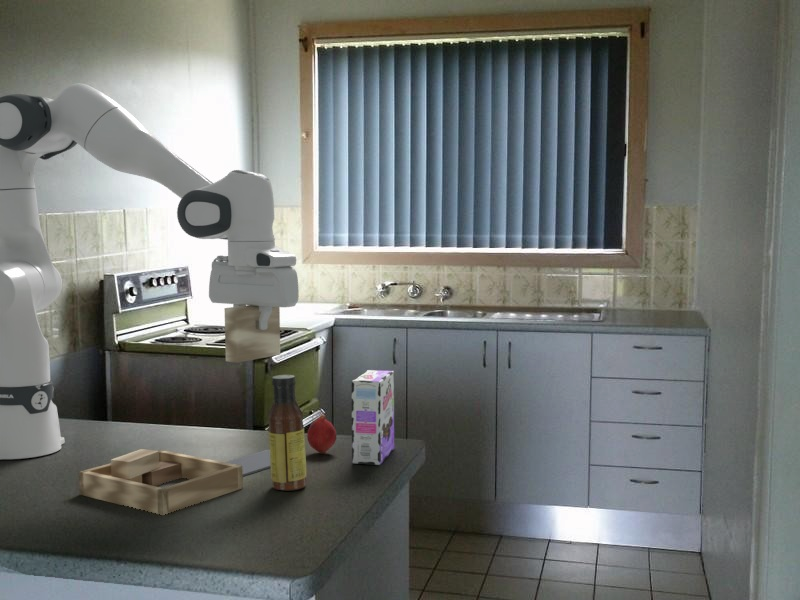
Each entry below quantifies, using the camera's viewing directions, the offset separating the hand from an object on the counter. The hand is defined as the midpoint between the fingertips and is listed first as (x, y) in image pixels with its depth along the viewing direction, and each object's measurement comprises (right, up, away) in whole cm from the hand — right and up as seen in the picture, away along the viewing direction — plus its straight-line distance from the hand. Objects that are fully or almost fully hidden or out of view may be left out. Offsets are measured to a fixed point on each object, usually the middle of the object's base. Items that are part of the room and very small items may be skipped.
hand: (253, 328), depth 184 cm
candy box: (+23, -26, +7) cm, 35 cm away
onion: (+12, -26, +10) cm, 30 cm away
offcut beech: (-19, -25, -14) cm, 34 cm away
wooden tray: (-13, -28, -16) cm, 35 cm away
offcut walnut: (-16, -28, -9) cm, 33 cm away
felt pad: (0, -26, +2) cm, 26 cm away
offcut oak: (-21, -28, -16) cm, 39 cm away
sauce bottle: (+8, -28, -14) cm, 32 cm away
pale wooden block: (0, -6, +1) cm, 6 cm away
